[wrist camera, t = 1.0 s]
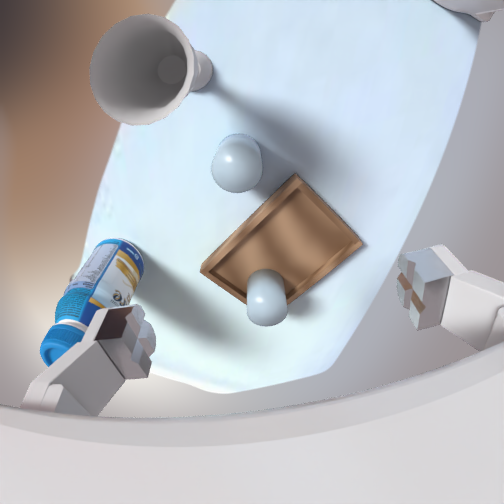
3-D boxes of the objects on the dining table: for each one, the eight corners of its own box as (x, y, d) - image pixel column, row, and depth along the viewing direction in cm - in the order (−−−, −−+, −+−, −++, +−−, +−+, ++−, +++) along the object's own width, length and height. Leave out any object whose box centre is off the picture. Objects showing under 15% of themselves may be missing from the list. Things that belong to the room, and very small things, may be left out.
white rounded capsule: (265, 262, 43) (267, 289, 38) (291, 282, 45) (295, 310, 40) (239, 284, 45) (238, 313, 40) (265, 303, 47) (267, 331, 42)
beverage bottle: (100, 226, 41) (29, 324, 24) (153, 249, 43) (106, 360, 26) (90, 269, 45) (34, 368, 28) (138, 290, 47) (98, 398, 30)
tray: (295, 172, 38) (297, 178, 36) (358, 236, 42) (362, 244, 41) (201, 263, 44) (199, 272, 43) (267, 310, 49) (268, 319, 48)
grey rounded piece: (237, 124, 35) (235, 133, 29) (269, 153, 36) (273, 168, 31) (207, 156, 37) (200, 171, 31) (240, 183, 38) (238, 202, 33)
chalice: (224, 95, 33) (202, 113, 17) (166, 106, 33) (101, 136, 18) (216, 36, 29) (185, 1, 14) (157, 48, 29) (82, 33, 14)
